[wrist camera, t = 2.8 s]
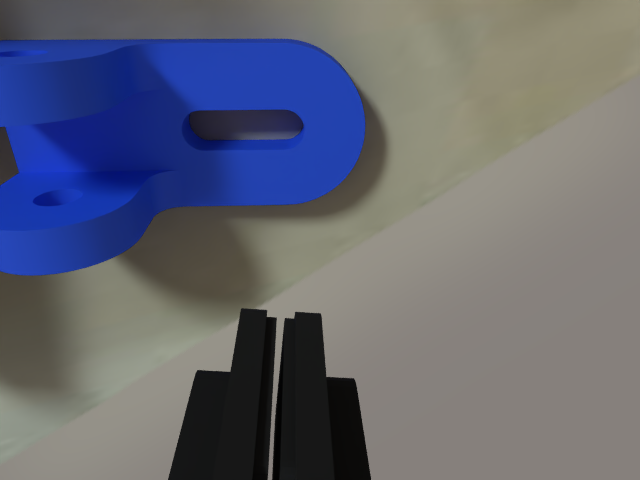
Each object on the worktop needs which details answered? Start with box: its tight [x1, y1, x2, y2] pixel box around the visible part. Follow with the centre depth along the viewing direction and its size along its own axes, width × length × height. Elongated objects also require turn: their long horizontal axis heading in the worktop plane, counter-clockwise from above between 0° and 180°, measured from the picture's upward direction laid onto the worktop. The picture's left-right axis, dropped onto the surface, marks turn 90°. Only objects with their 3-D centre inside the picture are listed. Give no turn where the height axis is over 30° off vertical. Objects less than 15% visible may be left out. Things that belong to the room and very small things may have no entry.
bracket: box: [0, 39, 365, 275], centre depth 23 cm, size 18×8×9 cm, turn 90°
